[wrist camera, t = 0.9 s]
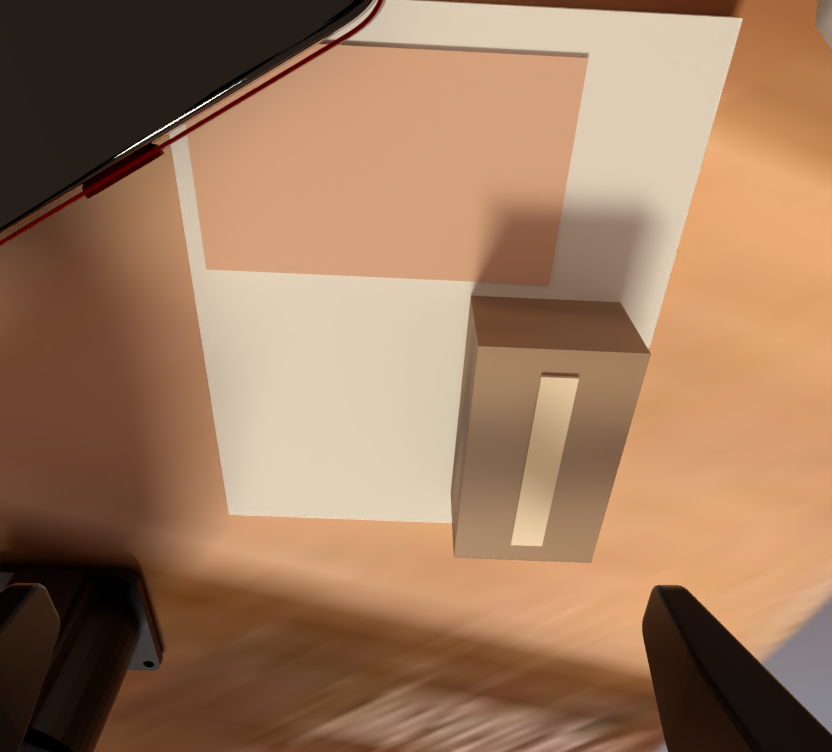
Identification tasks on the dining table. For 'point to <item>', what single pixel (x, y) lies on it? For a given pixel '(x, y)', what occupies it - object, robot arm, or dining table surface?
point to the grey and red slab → (133, 82)
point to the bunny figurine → (824, 20)
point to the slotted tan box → (541, 425)
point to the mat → (426, 228)
